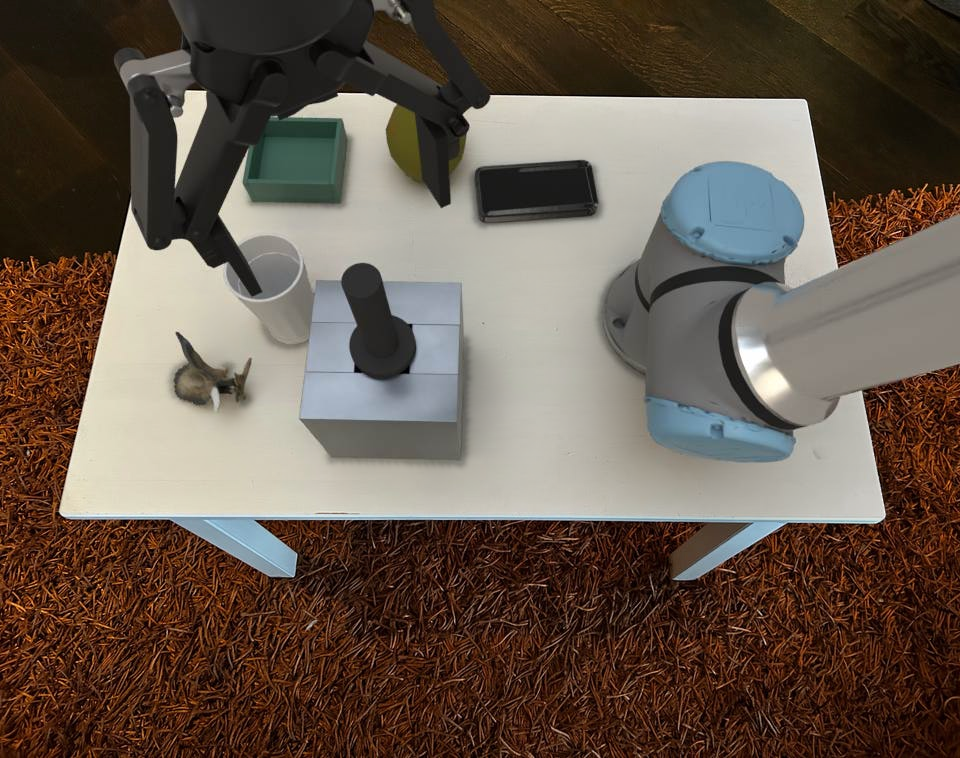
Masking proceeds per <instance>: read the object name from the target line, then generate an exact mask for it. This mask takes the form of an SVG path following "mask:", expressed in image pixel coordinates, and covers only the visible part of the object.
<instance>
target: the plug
mask: <svg viewBox="0 0 960 758" xmlns="http://www.w3.org/2000/svg"><path fill="white" fill-rule="evenodd" d="M382 277H383V276H382V274H381V272H380V270H379V269H378V267H376V266H375V265H373V264H371V263H367V262H357V263H354V264H352V265H350V266H349V267H347V268H346V269H345V270H344V272H343V274H342V275H341V279H340V280H341V285H342V288H343V291H344V293H345V296H346V298H347V301H348V303H349V306H350V308H351V311H352V313H353V316H354V319H355V321H356V324H357V327H356V328H355V329H354V331H353V332H352V335H351V337H350V342H349V350H350V354H351V357H352V359H353V361H354V363H355V365H356V366H357V367H358V368H359V369H360V370H361V371H362V372H364V373H365V374H367V375H369V376H372V377H377V378H387V377H392V376H395V375H397V374H399V373H401V372H402V371H404V370H405V369H406V368H407V367H408V366H409V365H410V363H411V362H412V360H413V358H414V356H415V352H416V341H415V336H414V333H413V331H412V329H411V327H410V326H409V325H408V324H407V323H406V322H405V321H404V320H402V319H401V318H399V317H397V316H394V315H392V314H391V311H390V307H389V303H388V299H387V296H386V292H385V288H384V285H383V281H384V280H383V278H382Z"/></svg>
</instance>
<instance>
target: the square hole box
mask: <svg viewBox="0 0 960 758" xmlns="http://www.w3.org/2000/svg"><path fill="white" fill-rule="evenodd" d="M382 281H383V285H384V288H385V292H386V296H387V299H388V303H389V307H390V311H391V314H392V315H394V316H397V317H399V318H401V319H402V320H404V321H405V322H406V323H407V324H408V325H409V326H410V327H411V329H412V331H413V333H414V336H415V341H416V352H415V356H414V358H413V360H412V362H411V363H410V365H409V366H408V367H407V368H406V369H405V370H404V371H402V372H401V373H399V374H397V375H395V376H392V377H387V378H377V377H372V376H369V375H367V374H365V373H364V372H362V371H361V370H360V369H359V368H358V367H357V366H356V365H355V363H354V361H353V359H352V357H351V354H350V350H349V342H350V337H351V335H352V332H353V331H354V329H355V328H356V327H357V324H356V321H355V319H354V316H353V313H352V311H351V308H350V306H349V303H348V301H347V298H346V296H345V293H344V291H343V288H342V285H341V279H340V280H339V279H338V280H336V279H335V280H333V279H332V280H331V279H316V280H315V286H314V293H313V294H314V302H313V310H312V318H311V326H310V334H309V339H308V344H307V351H306V360H305V366H304V376H303V385H302V391H301V399H300V407H299V416H298V419H299V421H301V423H302V424H303V425H304V426H305V428H306V429H307V430H308V431H309V432H310V433H311V435H312V436H313V437H314V438H315V440H316V441H317V442H318V444H320V445H321V446H322V448H323V449H324V450H325V451H326V452H327V454H328V455H329V456H330V457H331V458H333V459H334V458H335V459H336V458H337V459H383V460H434V461H439V460H440V461H441V460H442V461H461V460H462V459H461V458H462V430H463V428H462V427H463V426H462V425H463V396H464V395H463V394H464V393H463V391H464V363H465V362H464V359H465V357H464V356H465V331H464V330H465V329H464V308H463V286H462V285H463V284H462V282H448V281H447V282H444V281H442V282H439V281H438V282H437V281H396V280H395V281H390V280H388V281H387V280H386V281H385V280H382Z"/></svg>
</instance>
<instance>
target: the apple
mask: <svg viewBox="0 0 960 758" xmlns="http://www.w3.org/2000/svg"><path fill="white" fill-rule="evenodd" d="M467 135H468V133H467V134H465V135H464V136H463V137H461V138H460V143H459V144H460V152H459V154H458V157H456V158H454V159H452V160H450V161H449V176H450V175H451V174H452V173H453V172H454V171H455V169H456V168H457V167H458V166H459V164H460V163H461V161H462V159H463V157H464V153H465V150H466V149H465V148H466V142H467ZM385 137H386V143H387V144H386V145H387V148H388V151H389V152H388V153H389V155H390V157H391V159H392V160H393V161H394V163H395V164H396V166H398V167H399V169H401V171H402V172H403V173H404V174H405V175H406V176H407V177H409V178H411V179H412V180H414V182H415V181H416V182H419V183H424V181H423V180H422V173H421V164H420V156H419V147H418V138H417V129H416V120H415V113H414V112H412V111H410V110H408V109H406V108H404V107H402V106H400V105H398V104H396V105H395V106H394V107H393V109H392V112H391V115H390V117H389V119H388V122H387V124H386V127H385ZM424 184H425V183H424Z"/></svg>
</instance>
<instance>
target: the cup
mask: <svg viewBox="0 0 960 758" xmlns="http://www.w3.org/2000/svg"><path fill="white" fill-rule="evenodd" d="M236 244H237V245H238V247H239V249H240V250H241V252H242V254H243V255H244V257H245V258H246V260H247V262H248V264H249V266H250V268H251V270H252V272H253V274H254V276H255V278H256V280H257V282H258V284H259V286H260V287H261V289H262V291H263V292H262V293H259V294H257V295H255V296H253V297H251V295H250V294H249V292H248V291H247V289H246V288H245V286H244V285H243V283H242V282H241V280H240V279H239V277H238V276H237V274H236V273H235V271H234V270H233V268H232V267H231V265H230V264H229V262H227V263H225V264H223V269H222V275H223V280H224V283H225V285H226V286H227V288H228V290H229V291H230V292H231V293H232V294H233V295H234V296H235V297H236V298H237V299H238V300H239V301H240V302H241V303H242V304H243V306H245V307H246V308H247V309H248V310H249V311H250V312H251V313H252V314H253V315H254V316H255V317H256V318H257V319H258V321H260V323H261V324H262V325H263V326H264V327H265V328H266V329H267V330H268V332H269V333H270V335H271V336H272V337H273V338H274V339H275V340H277V341H278V342H279V343H282V344H286V345H298V344H302V343H304V342H307V341H309V334H310V326H311V318H312V310H313V302H314V294H315V293H314V291H313V289H312V284H311V282H310V279H309V274H308V270H307V267H306V264H305V260H304V258H303V257H304V256H303V254H302V252H301V249H300V248H299V246H298V245H297V244H296V243H295V242H294V241H293V240H291V238H289V237H286V236H284V235H282V234H278V233H274V232H262V233H257V234H256V233H255V234H253V235H250V236H248V237H246V238H243V239H242V240H241V241H239V242H238V243H236Z"/></svg>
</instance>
